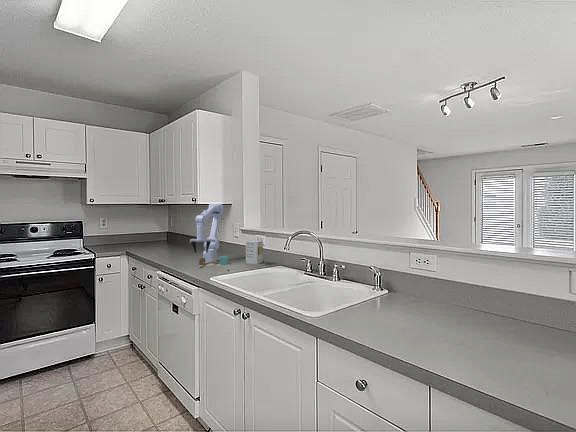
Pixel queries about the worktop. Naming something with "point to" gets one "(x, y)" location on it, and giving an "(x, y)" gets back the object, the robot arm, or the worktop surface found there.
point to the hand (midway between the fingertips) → (201, 252)
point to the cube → (223, 260)
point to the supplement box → (254, 252)
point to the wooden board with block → (202, 263)
